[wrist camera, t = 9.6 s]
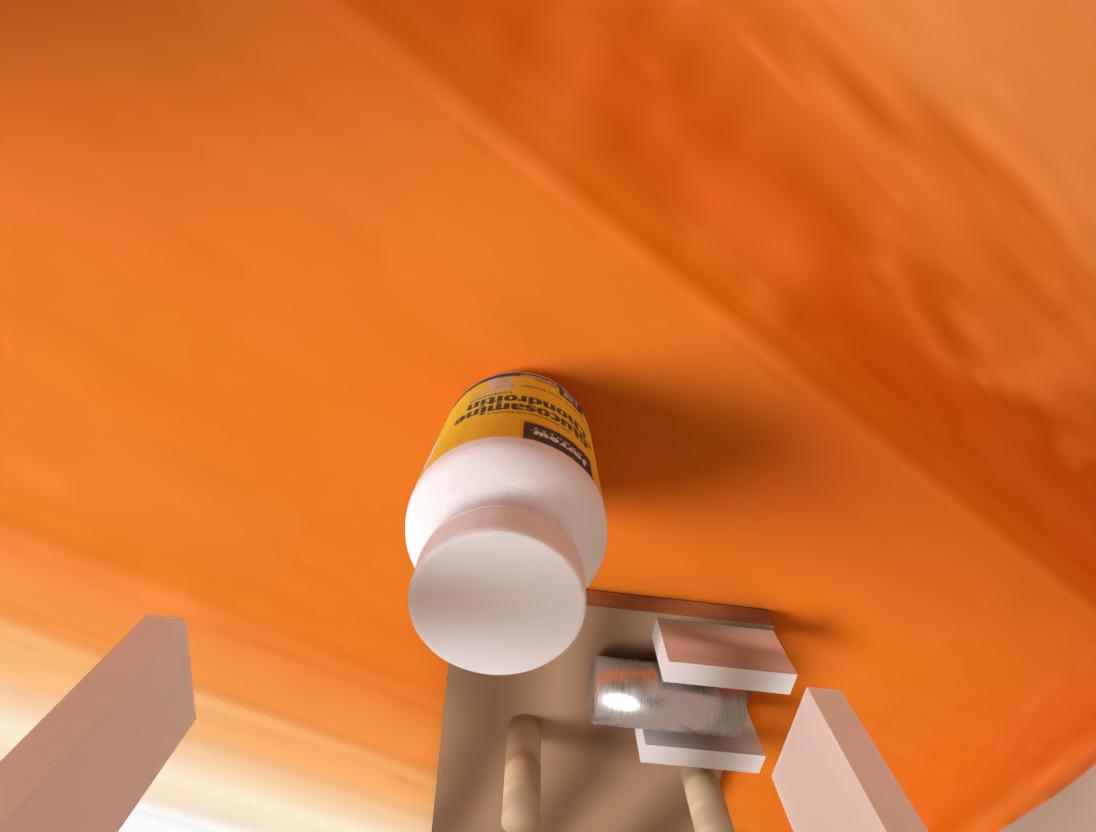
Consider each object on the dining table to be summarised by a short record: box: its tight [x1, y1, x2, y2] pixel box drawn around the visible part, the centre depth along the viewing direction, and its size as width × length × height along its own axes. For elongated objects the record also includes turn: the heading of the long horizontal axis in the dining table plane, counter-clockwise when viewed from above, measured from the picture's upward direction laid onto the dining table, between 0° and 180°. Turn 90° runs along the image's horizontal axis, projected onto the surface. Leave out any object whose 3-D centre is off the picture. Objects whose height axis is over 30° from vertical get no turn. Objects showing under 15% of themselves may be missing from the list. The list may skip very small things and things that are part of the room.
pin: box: [587, 655, 746, 738], centre depth 27 cm, size 7×3×3 cm, turn 82°
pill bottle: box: [405, 372, 608, 675], centre depth 20 cm, size 6×6×12 cm
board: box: [432, 590, 797, 832], centre depth 29 cm, size 16×20×6 cm
